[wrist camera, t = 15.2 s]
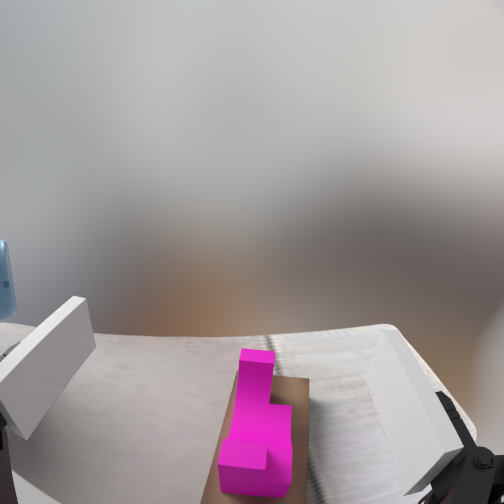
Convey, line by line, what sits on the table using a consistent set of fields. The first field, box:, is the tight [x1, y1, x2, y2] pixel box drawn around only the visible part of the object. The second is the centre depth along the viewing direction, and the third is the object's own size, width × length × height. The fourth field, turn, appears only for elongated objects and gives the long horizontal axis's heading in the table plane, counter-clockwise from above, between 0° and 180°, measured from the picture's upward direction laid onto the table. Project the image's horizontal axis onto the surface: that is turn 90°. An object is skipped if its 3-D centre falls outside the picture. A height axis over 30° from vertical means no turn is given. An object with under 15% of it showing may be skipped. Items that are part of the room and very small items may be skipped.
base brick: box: [200, 371, 309, 504], centre depth 29 cm, size 10×22×4 cm, turn 172°
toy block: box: [218, 348, 292, 498], centre depth 27 cm, size 15×6×8 cm, turn 174°
